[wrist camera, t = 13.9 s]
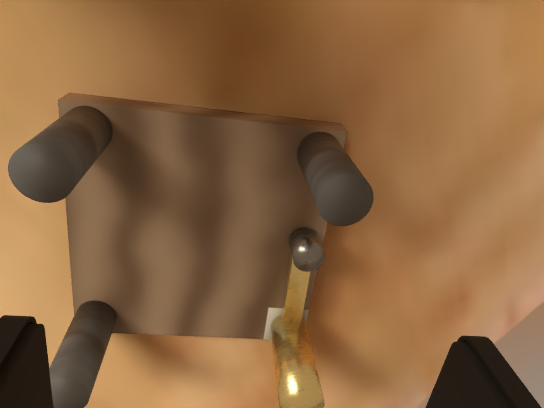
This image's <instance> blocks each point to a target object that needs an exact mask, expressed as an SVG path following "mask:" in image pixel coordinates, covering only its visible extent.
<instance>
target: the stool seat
mask: <svg viewBox="0 0 544 408" xmlns="http://www.w3.org/2000/svg"><path fill="white" fill-rule="evenodd" d="M58 106H59V119H58V120H57V121H55V122H54V123H53V124H51V125H50V126H49V127H47V128H46V129H45V130H43V131H42V132H41V133H39V134H38V135H37V136H35V137H34V138H33V139H31V140H30V141H29V142H27V143H26V144H25V145H23V146H22V147H21V148H19V149H18V150H17V151H15V152H14V153H13V155H12V156H11V158H10V160H9V164H8V172H9V176H10V179H11V181H12V183H13V184H14V186H15V187H16V188H17V189H18V190H19V191H20V192H21V193H22V194H23V195H25V196H26V197H28V198H30V199H32V200H35V201H39V202H44V203H51V202H57V201H60V200H62V199H64V198H65V199H66V212H67V225H68V239H69V252H70V265H71V279H72V292H73V305H74V318H73V320H72V322H71V324H70V326H69V328H68V330H67V332H66V335H65V337H64V339H63V341H62V343H61V345H60V347H59V349H58V351H57V353H56V356H55V358H54V360H53V362H52V364H51V366H50V368H49V372H50V380H51V389H52V398H53V407H54V408H84V407H85V406H86V405H87V403H88V401H89V398H90V395H91V392H92V389H93V386H94V383H95V381H96V378H97V375H98V372H99V369H100V366H101V363H102V360H103V357H104V354H105V351H106V348H107V346H108V343H109V340H110V337H111V334H112V333H127V334H152V335H177V336H201V337H226V338H251V339H263V340H271V332H270V326H271V323H272V321H273V320H274V319H275V318H276V317H278V316H279V315H281V314H282V307H283V301H284V295H285V288H286V282H287V276H288V269H289V263H290V257H291V250H290V246H289V237H290V235H291V233H292V232H293V231H294V230H296V229H298V228H301V227H308V228H311V229H313V230H314V231H315V232H316V234H317V236H318V239H319V242H320V245H321V247H323V243H324V238H325V233H326V229H327V224H328V223H330V224H333V225H337V226H347V225H351V224H354V223H356V222H358V221H360V220H361V219H362V218H364V217H365V216H366V214H367V213H368V212H369V210H370V208H371V206H372V203H373V191H372V188H371V186H370V185H369V183H368V182H367V181H366V179H365V178H364V176H363V175H362V174H361V172H360V171H359V169H358V168H357V167H356V165H355V164H354V163H353V161H352V160H351V158H350V157H349V156H348V154H347V153H346V152H345V150H344V146H345V141H346V137H347V131H346V130H345V128H344V127H343V126H342V125H341V124H340V123H331V122H322V121H313V120H305V119H296V118H287V117H278V116H269V115H260V114H251V113H243V112H234V111H225V110H216V109H207V108H198V107H190V106H181V105H172V104H163V103H154V102H145V101H136V100H128V99H119V98H110V97H101V96H92V95H83V94H75V93H68V94H67V95H65V96H64V97H62V98H61V99H59V100H58ZM317 270H318V269H316V270H314V271H311V272H310V277H309V282H308V288H307V293H306V299H305V304H304V309H303V315H302V317H303V318H304V319H305V321H306V322H307V318H308V313H309V307H310V303H311V298H312V293H313V289H314V284H315V280H316V275H317Z"/></svg>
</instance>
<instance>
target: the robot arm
mask: <svg viewBox="0 0 544 408" xmlns="http://www.w3.org/2000/svg"><path fill="white" fill-rule="evenodd" d="M0 408H54V407H53V398H52V389H51V380H50V372H49V363H48V354H47V345H46V337H45V328H44V325H43V324H37V323H36V319H35V318H34V317H31V316H8V315H4V316H2V317H1V318H0ZM426 408H541V407H540V405H539V404H538V403H537V401H536V400H535V399H534V397H533V396H532V395H531V393H530V392H529V391H528V389H527V388H526V387H525V385H524V384H523V383H522V381H521V380H520V379H519V377H518V376H517V375H516V373H515V372H514V371H513V369H512V368H511V367H510V366H509V364H508V363H507V361H506V360H505V359H504V357H503V356H502V355H501V353H500V352H499V351H498V349H497V348H496V347H495V345H494V344H493V343H492V341H491V340H490V339H489V338H487V337H480V336H461V337H460V338H459V339H458V341H457V342H454V343H453V344H452V345H451V348H450V350H449V352H448V355H447V357H446V360H445V362H444V364H443V367H442V369H441V372H440V374H439V377H438V379H437V381H436V384H435V386H434V389H433V391H432V394H431V396H430V399H429V401H428V403H427V406H426Z"/></svg>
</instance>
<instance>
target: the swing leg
mask: <svg viewBox="0 0 544 408" xmlns="http://www.w3.org/2000/svg"><path fill="white" fill-rule="evenodd" d="M289 246H290V250H291V257H290V263H289V269H288V276H287V282H286V288H285V295H284V301H283V307H282V314H281V315H279V316H278V317H276V318H275V319H274V320H273V321H272V323H271V326H270V332H271V340H272V348H273V356H274V364H275V373H276V381H277V389H278V397H279V405H280V408H323V407H324V398H323V394H322V389H321V385H320V381H319V376H318V372H317V368H316V363H315V359H314V355H313V351H312V346H311V342H310V338H309V333H308V329H307V325H306V321H305V319H304V318H303V317H302V315H303V309H304V304H305V299H306V293H307V288H308V282H309V277H310V272H311V271H314V270H316V269H318V268H319V267H320V266H321V265H322V264H323V262H324V253H323V250H322V247H321V245H320V242H319V239H318V236H317V234H316V232H315V231H314V230H313V229H311V228H308V227H301V228H298V229H296V230H294V231H293V232H292V233H291V235H290V237H289Z"/></svg>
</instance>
